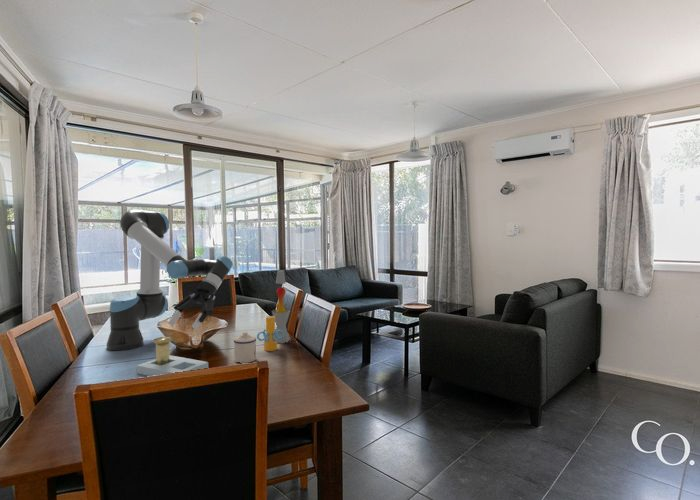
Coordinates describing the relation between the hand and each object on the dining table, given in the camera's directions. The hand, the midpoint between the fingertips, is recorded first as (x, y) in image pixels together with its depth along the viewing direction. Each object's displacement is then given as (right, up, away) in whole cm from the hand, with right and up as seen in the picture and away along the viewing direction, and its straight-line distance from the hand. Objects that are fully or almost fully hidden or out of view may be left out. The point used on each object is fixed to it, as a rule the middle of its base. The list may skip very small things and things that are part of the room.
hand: (181, 326), depth 156 cm
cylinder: (+33, -14, +18) cm, 40 cm away
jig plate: (+1, -15, -10) cm, 18 cm away
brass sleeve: (-4, -15, -8) cm, 17 cm away
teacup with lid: (+24, -15, +5) cm, 29 cm away
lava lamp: (+35, -14, +33) cm, 50 cm away
